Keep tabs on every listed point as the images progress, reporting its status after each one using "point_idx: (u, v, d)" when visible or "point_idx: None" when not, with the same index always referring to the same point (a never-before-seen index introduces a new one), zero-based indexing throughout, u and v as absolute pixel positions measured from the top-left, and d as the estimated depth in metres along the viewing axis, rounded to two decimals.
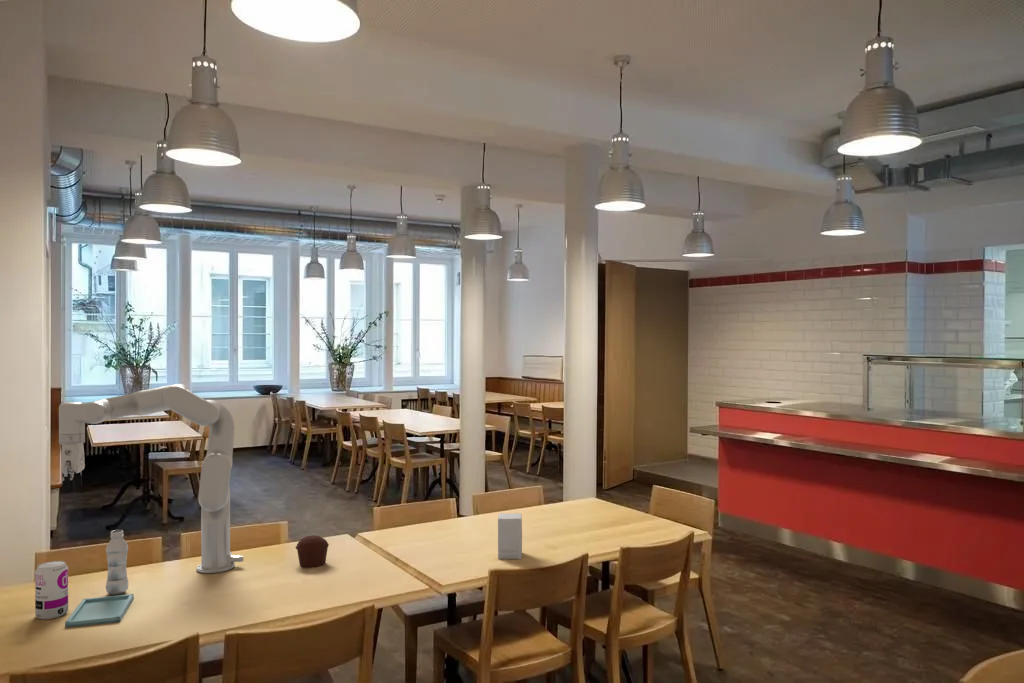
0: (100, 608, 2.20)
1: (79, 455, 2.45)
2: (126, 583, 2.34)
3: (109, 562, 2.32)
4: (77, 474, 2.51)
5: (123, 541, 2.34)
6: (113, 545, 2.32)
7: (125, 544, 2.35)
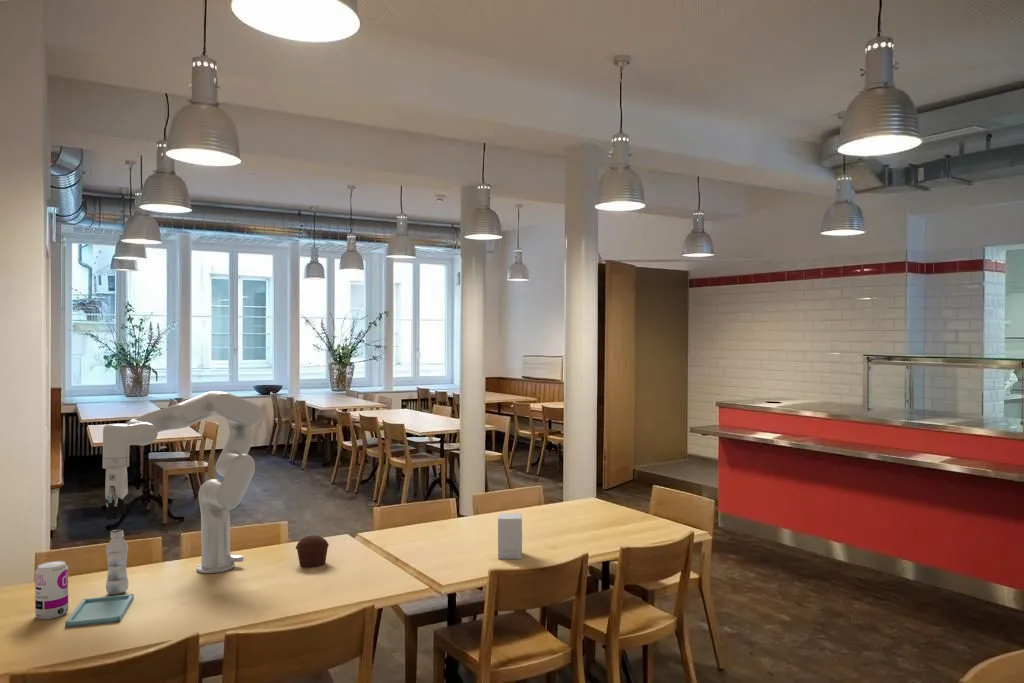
0: (100, 608, 2.20)
1: (123, 480, 2.33)
2: (126, 583, 2.34)
3: (109, 562, 2.32)
4: (120, 499, 2.39)
5: (123, 541, 2.34)
6: (113, 545, 2.32)
7: (125, 544, 2.35)
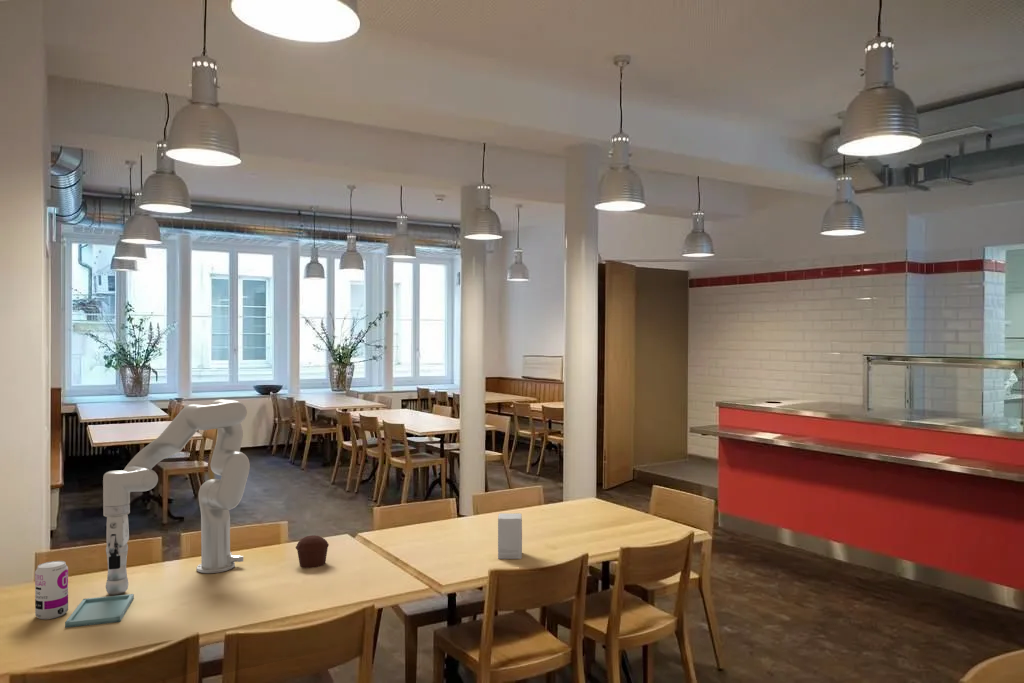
0: (100, 608, 2.20)
1: (124, 527, 2.33)
2: (126, 583, 2.34)
3: None
4: None
5: None
6: None
7: (125, 544, 2.34)
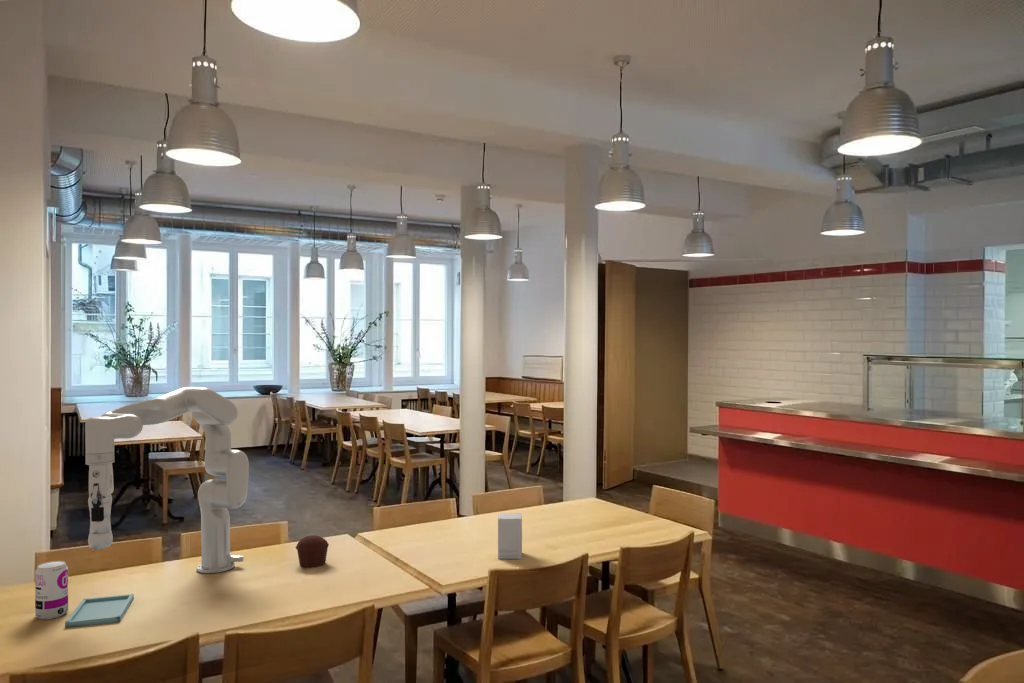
0: (100, 608, 2.20)
1: (108, 477, 2.17)
2: (110, 537, 2.18)
3: None
4: None
5: None
6: None
7: (109, 495, 2.18)
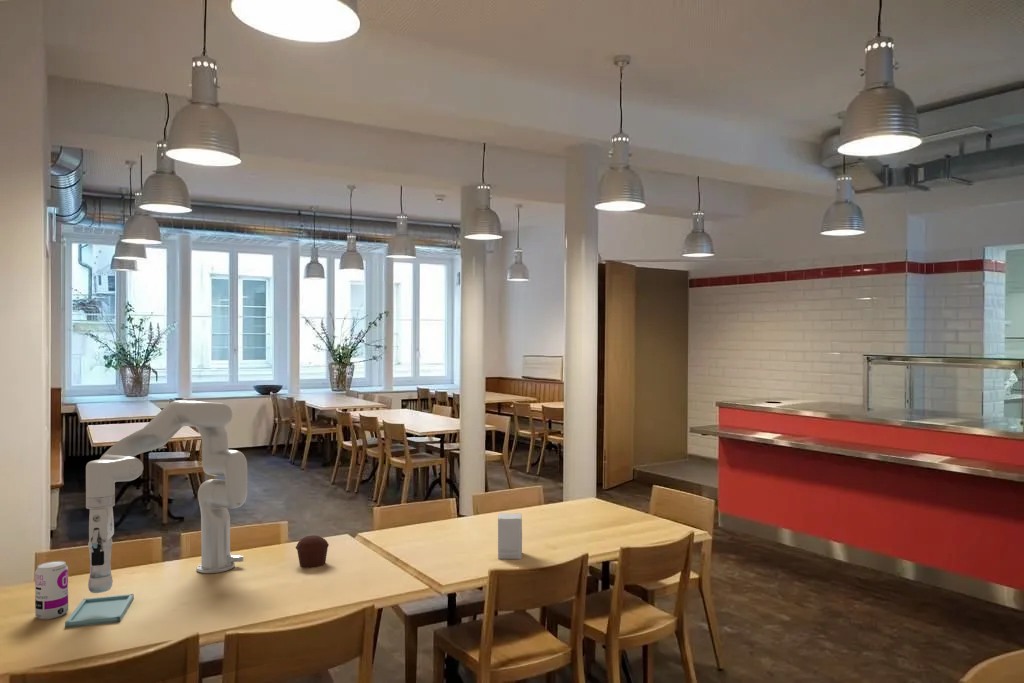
0: (100, 608, 2.20)
1: (109, 521, 2.17)
2: (110, 581, 2.18)
3: (91, 558, 2.15)
4: None
5: None
6: None
7: (109, 539, 2.18)
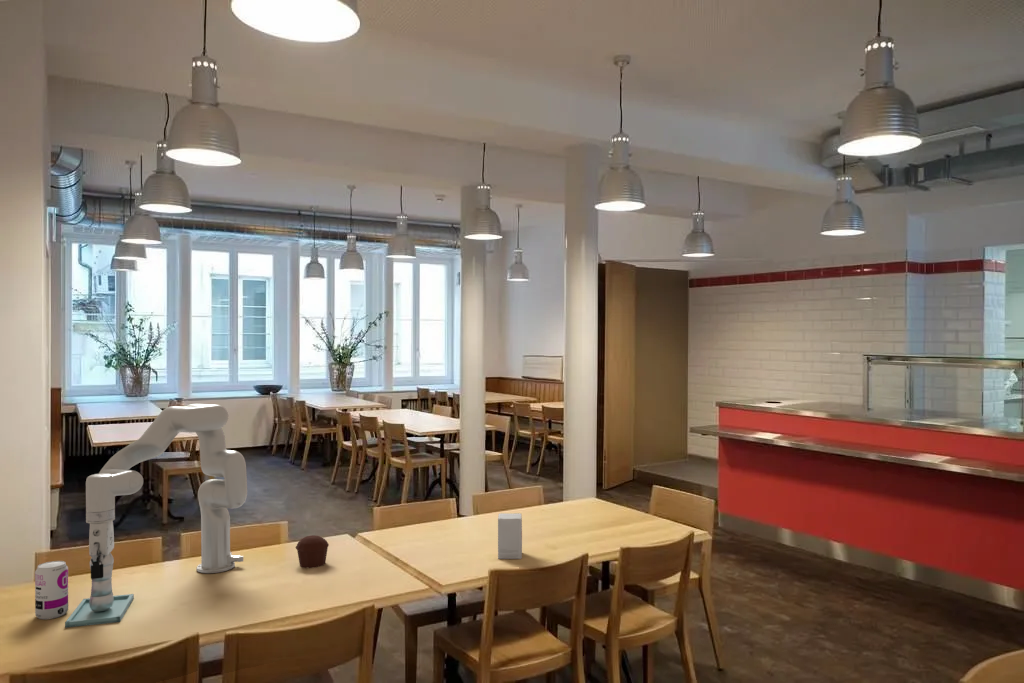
0: None
1: (109, 535, 2.17)
2: (111, 599, 2.18)
3: None
4: None
5: (108, 554, 2.18)
6: None
7: (110, 557, 2.18)
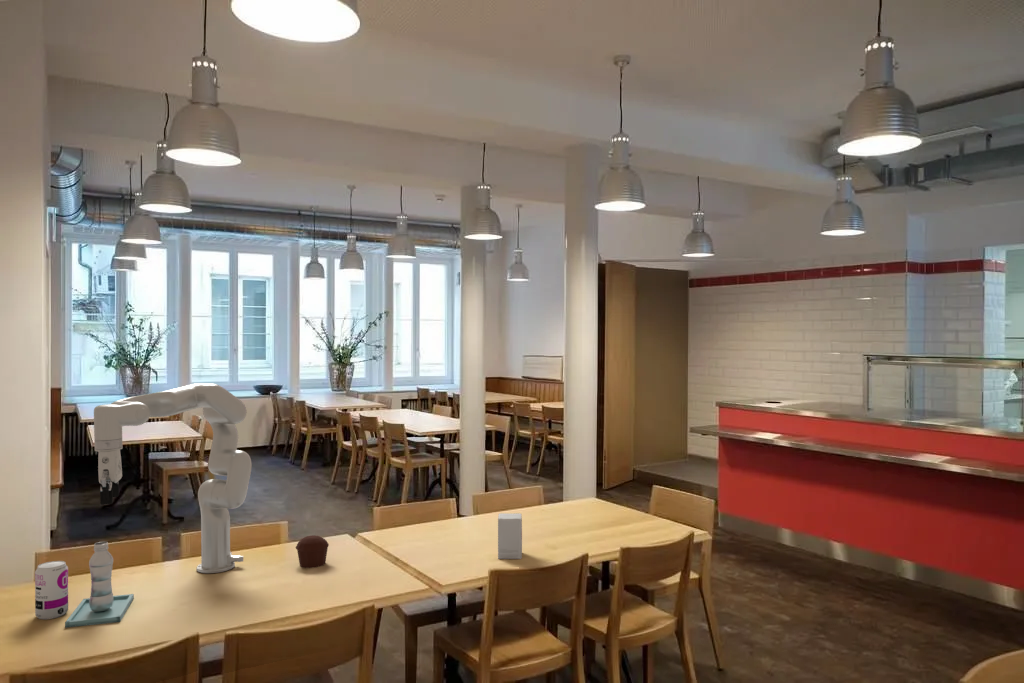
0: None
1: (117, 463, 2.22)
2: (111, 599, 2.18)
3: (92, 577, 2.16)
4: (114, 483, 2.29)
5: (108, 554, 2.18)
6: (97, 559, 2.16)
7: (110, 557, 2.18)
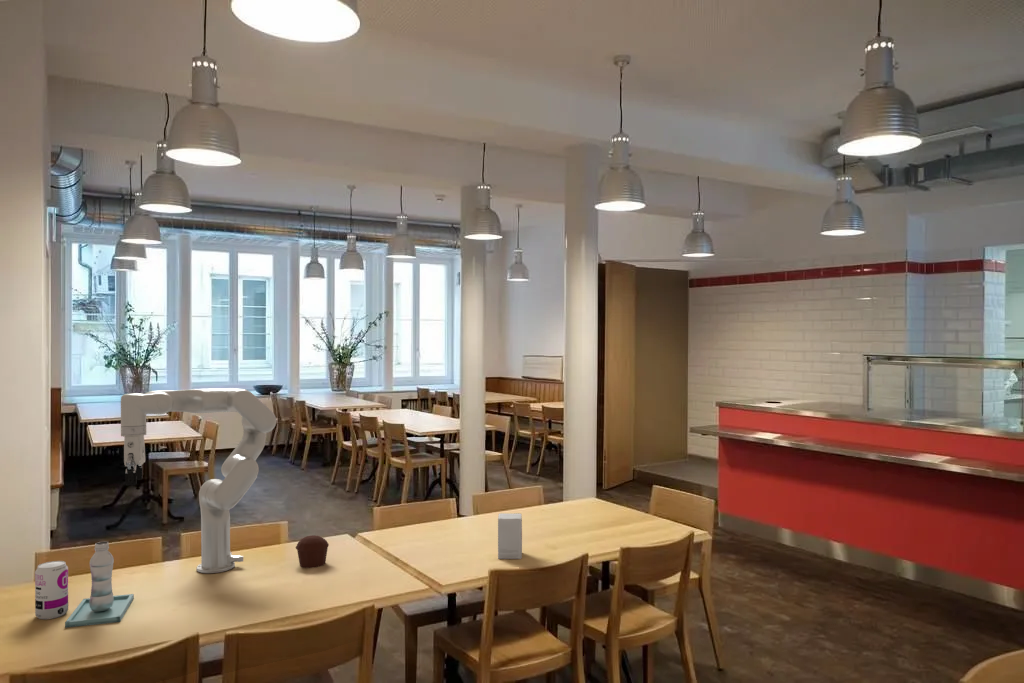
0: None
1: (141, 447, 2.40)
2: (111, 599, 2.18)
3: (93, 576, 2.16)
4: (138, 467, 2.46)
5: (108, 554, 2.18)
6: (97, 558, 2.16)
7: (110, 557, 2.18)
